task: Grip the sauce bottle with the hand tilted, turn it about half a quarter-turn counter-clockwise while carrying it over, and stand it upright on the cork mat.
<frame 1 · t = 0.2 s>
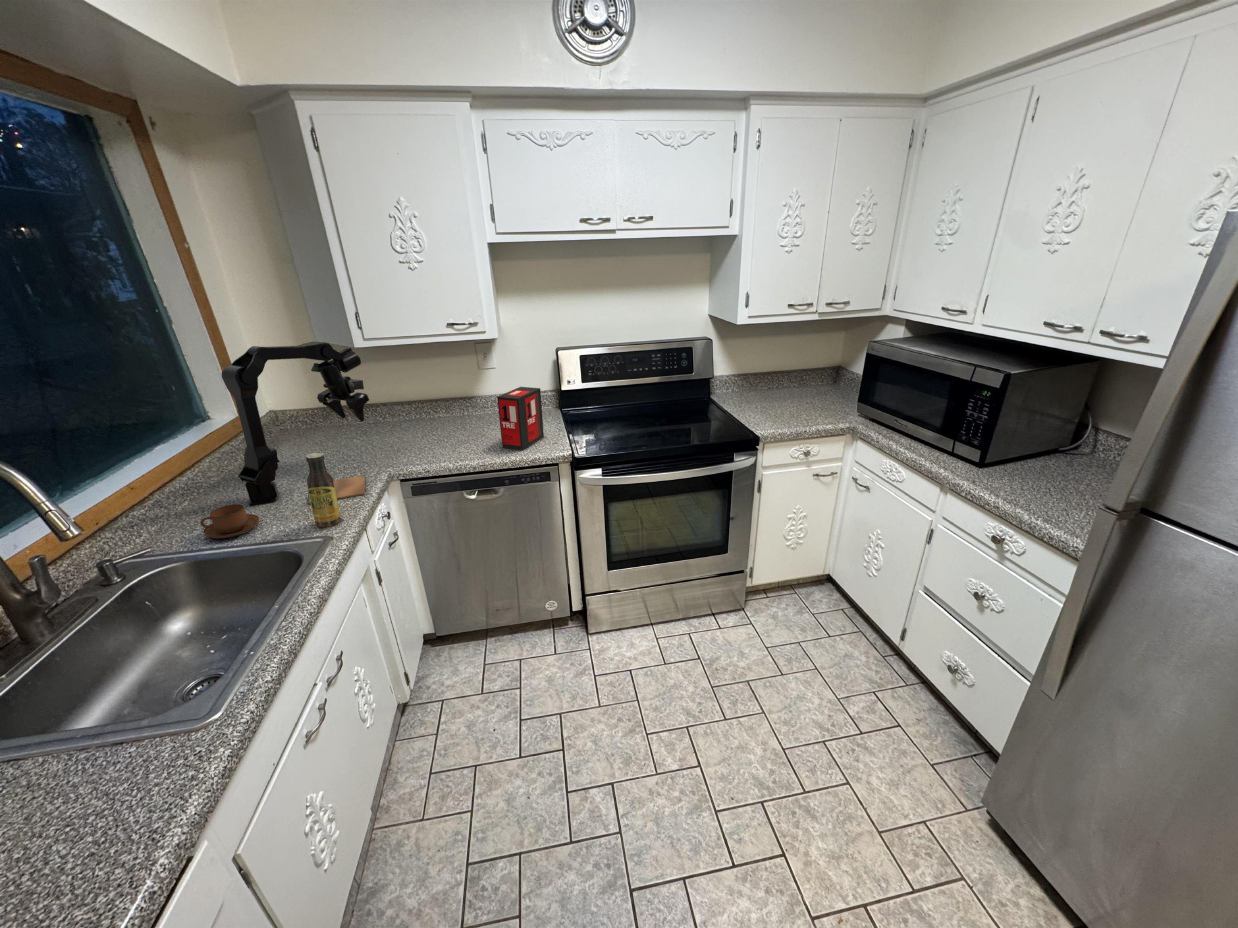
hand: (353, 419, 175), 15 cm above the countertop, tool pointing down, fingers open, 9 cm apart
cork mat: (338, 489, 158), on the countertop
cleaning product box: (523, 442, 197), on the countertop
sauce bottle: (329, 523, 138), on the countertop
cup and saucer: (234, 531, 134), on the countertop
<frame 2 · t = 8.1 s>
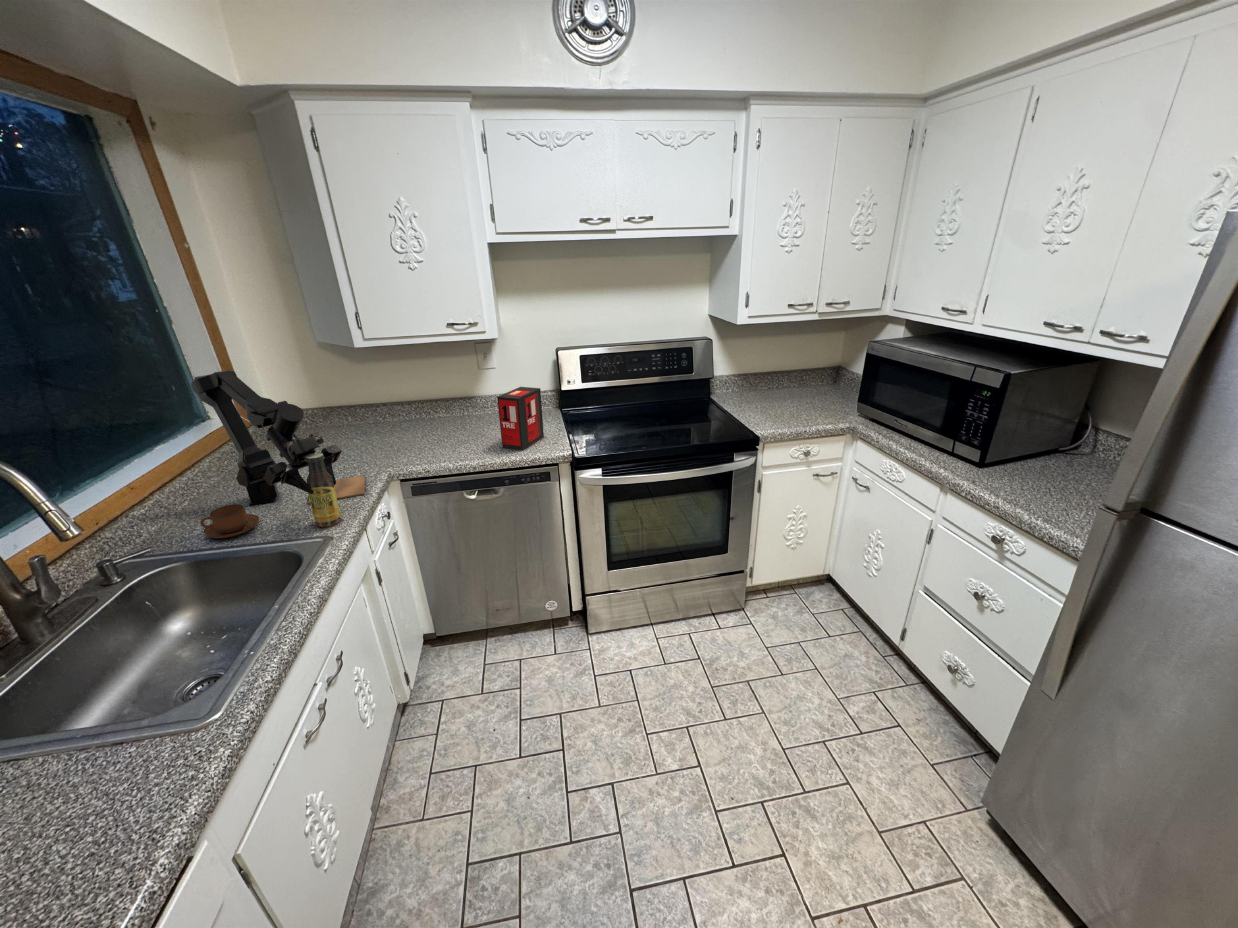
hand: (323, 488, 133), 11 cm above the countertop, tool tilted 45°, fingers closed on sauce bottle, 6 cm apart
sauce bottle: (329, 523, 138), on the countertop, touching gripper
everything else where it was.
when the fingers open (11 cm above the countertop, at t = 15.4 s): sauce bottle stays where it is, resting on cork mat.
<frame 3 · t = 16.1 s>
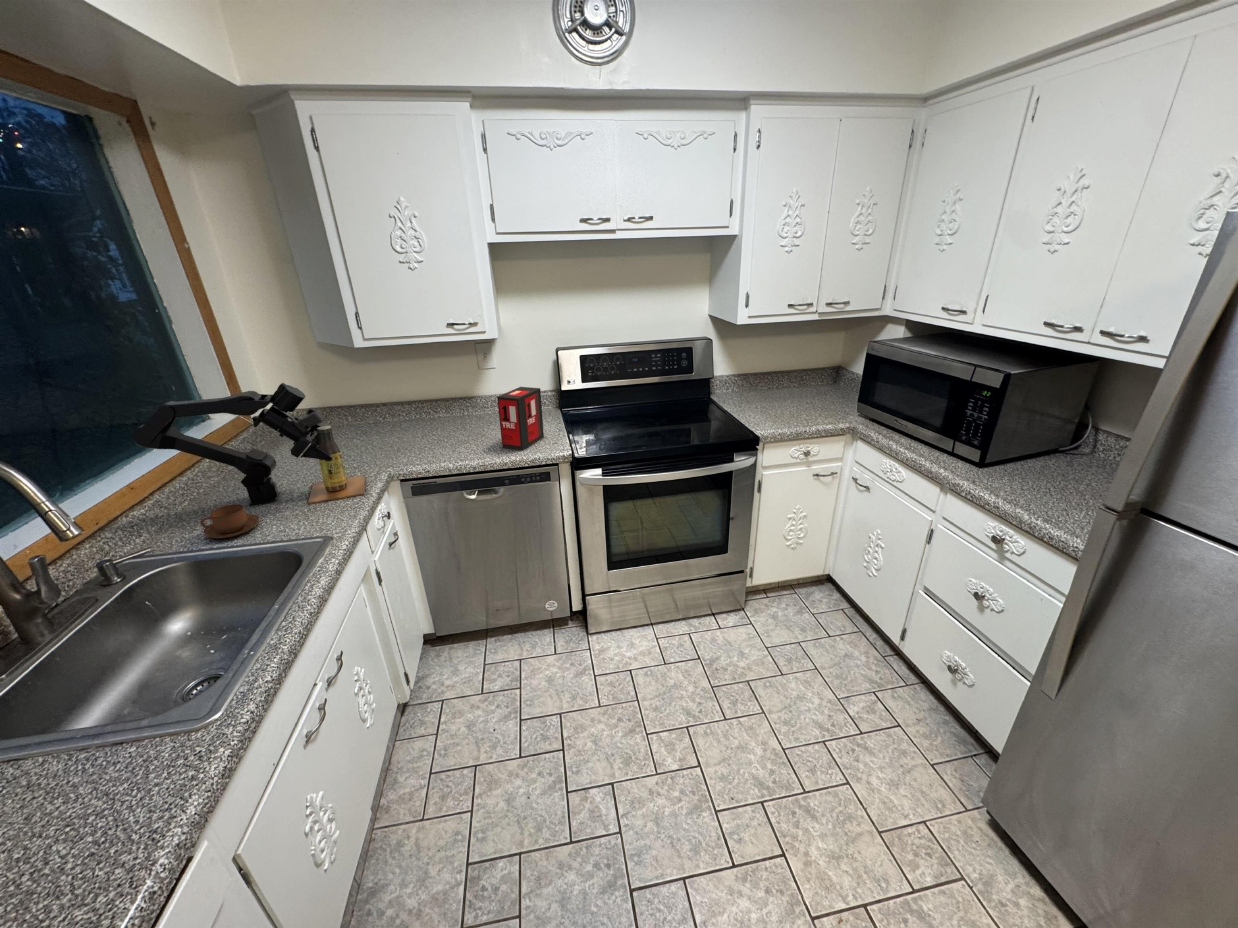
hand: (334, 454, 154), 12 cm above the countertop, tool tilted 45°, fingers open, 9 cm apart
sauce bottle: (337, 488, 158), resting on cork mat
everything else where it was.
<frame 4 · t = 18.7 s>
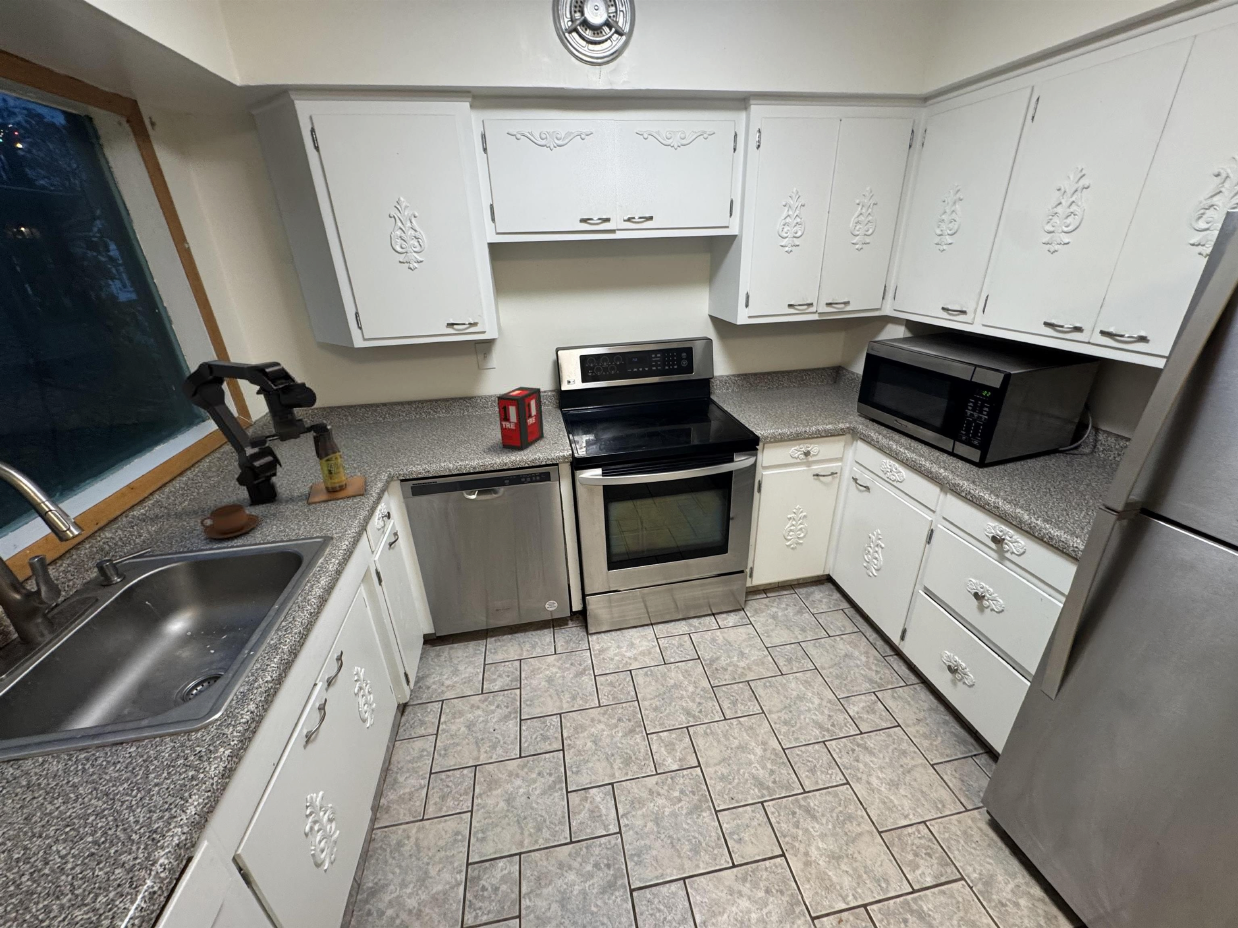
hand: (300, 462, 143), 14 cm above the countertop, tool pointing down, fingers open, 9 cm apart
sauce bottle: (337, 488, 158), resting on cork mat
everything else where it was.
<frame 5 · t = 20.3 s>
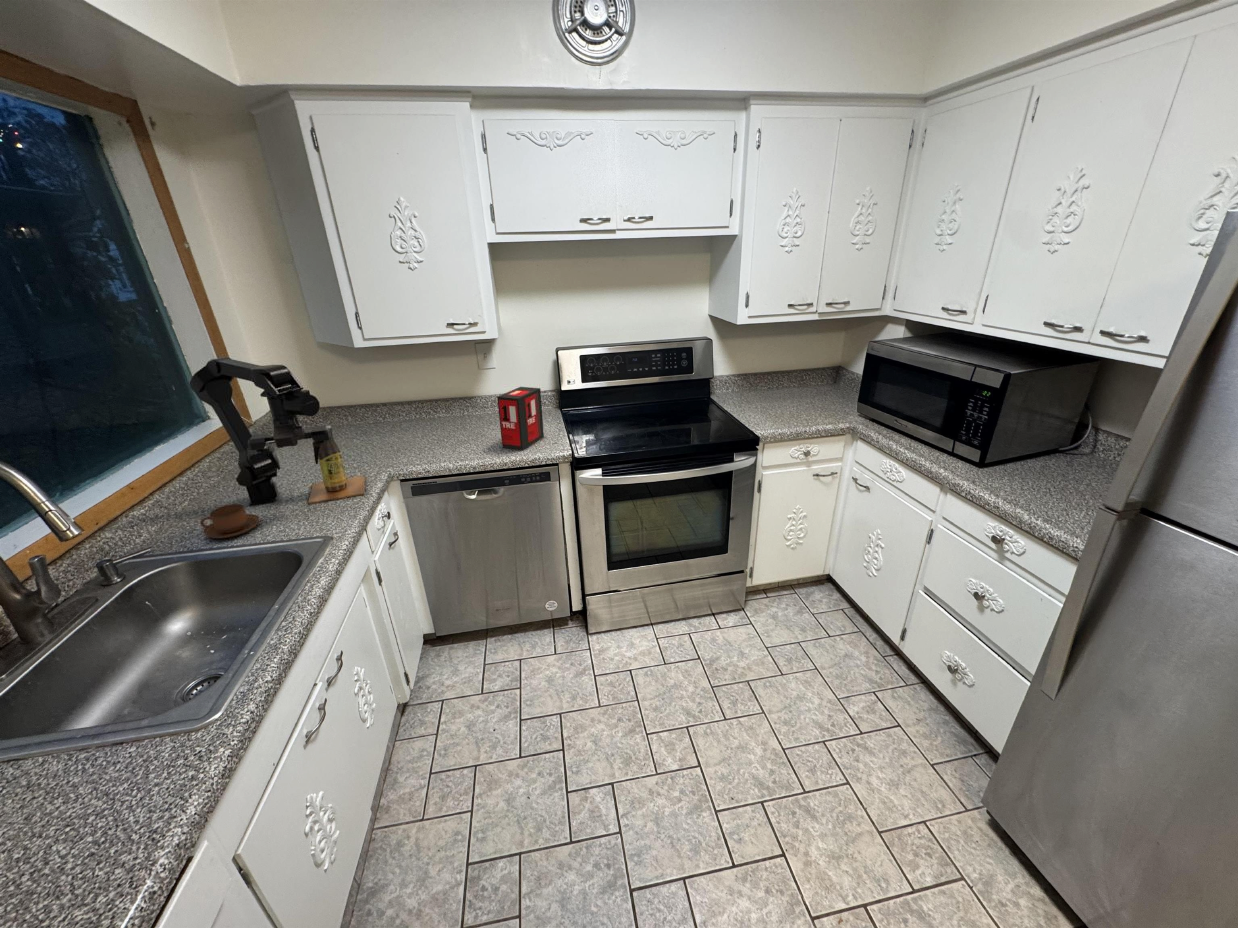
hand: (298, 466, 142), 13 cm above the countertop, tool pointing down, fingers open, 9 cm apart
sauce bottle: (337, 488, 158), resting on cork mat
everything else where it was.
at the end: sauce bottle inside the target area on the cork mat (0.2 cm from its centre), point 0.4 cm above the cork mat's base; sauce bottle tilted 0°; the gripper is holding nothing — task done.
